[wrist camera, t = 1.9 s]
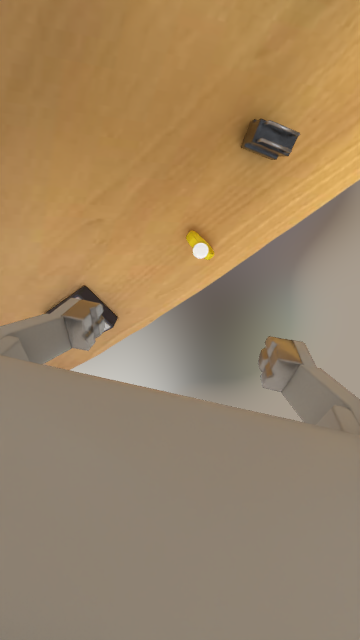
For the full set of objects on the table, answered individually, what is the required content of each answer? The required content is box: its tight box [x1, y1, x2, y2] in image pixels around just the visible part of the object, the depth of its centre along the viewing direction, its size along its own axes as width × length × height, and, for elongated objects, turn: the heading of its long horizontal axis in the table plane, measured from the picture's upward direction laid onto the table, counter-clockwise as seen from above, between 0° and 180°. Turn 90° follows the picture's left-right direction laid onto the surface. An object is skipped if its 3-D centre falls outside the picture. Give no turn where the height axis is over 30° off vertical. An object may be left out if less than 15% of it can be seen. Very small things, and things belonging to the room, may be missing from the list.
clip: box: [241, 119, 300, 160], centre depth 28 cm, size 5×3×8 cm, turn 74°
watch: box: [186, 230, 214, 260], centre depth 38 cm, size 6×3×6 cm, turn 49°
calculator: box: [45, 286, 117, 332], centre depth 51 cm, size 11×4×15 cm
